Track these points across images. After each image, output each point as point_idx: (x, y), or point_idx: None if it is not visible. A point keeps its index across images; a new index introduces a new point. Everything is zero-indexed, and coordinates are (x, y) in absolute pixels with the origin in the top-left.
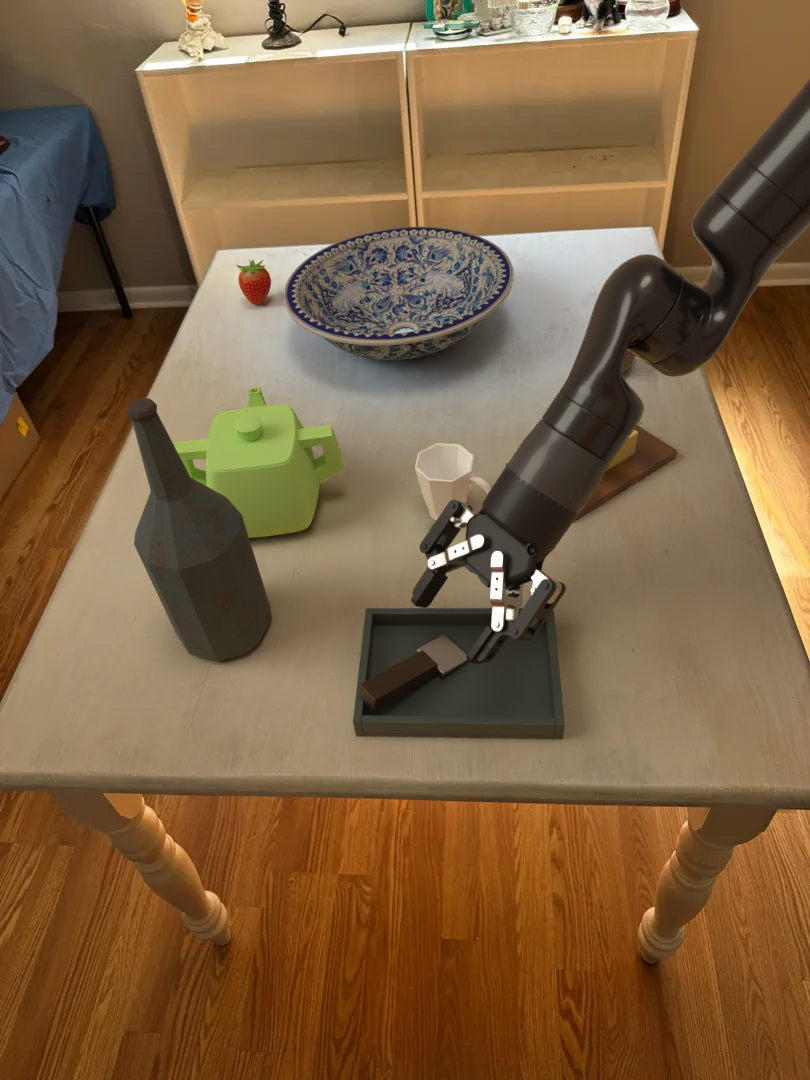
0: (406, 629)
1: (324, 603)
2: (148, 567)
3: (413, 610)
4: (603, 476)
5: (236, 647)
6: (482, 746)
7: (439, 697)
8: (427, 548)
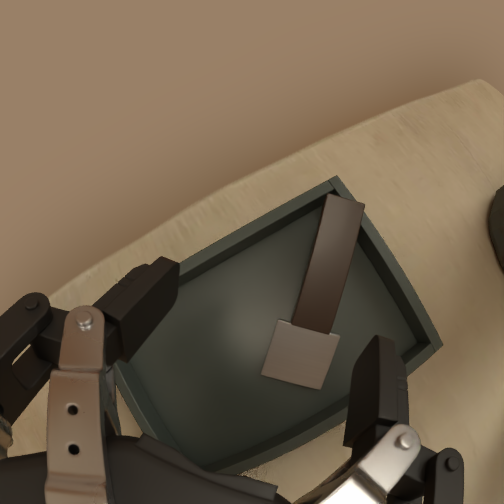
0: None
1: (479, 331)
2: None
3: None
4: None
5: (499, 202)
6: None
7: (266, 291)
8: (441, 466)
